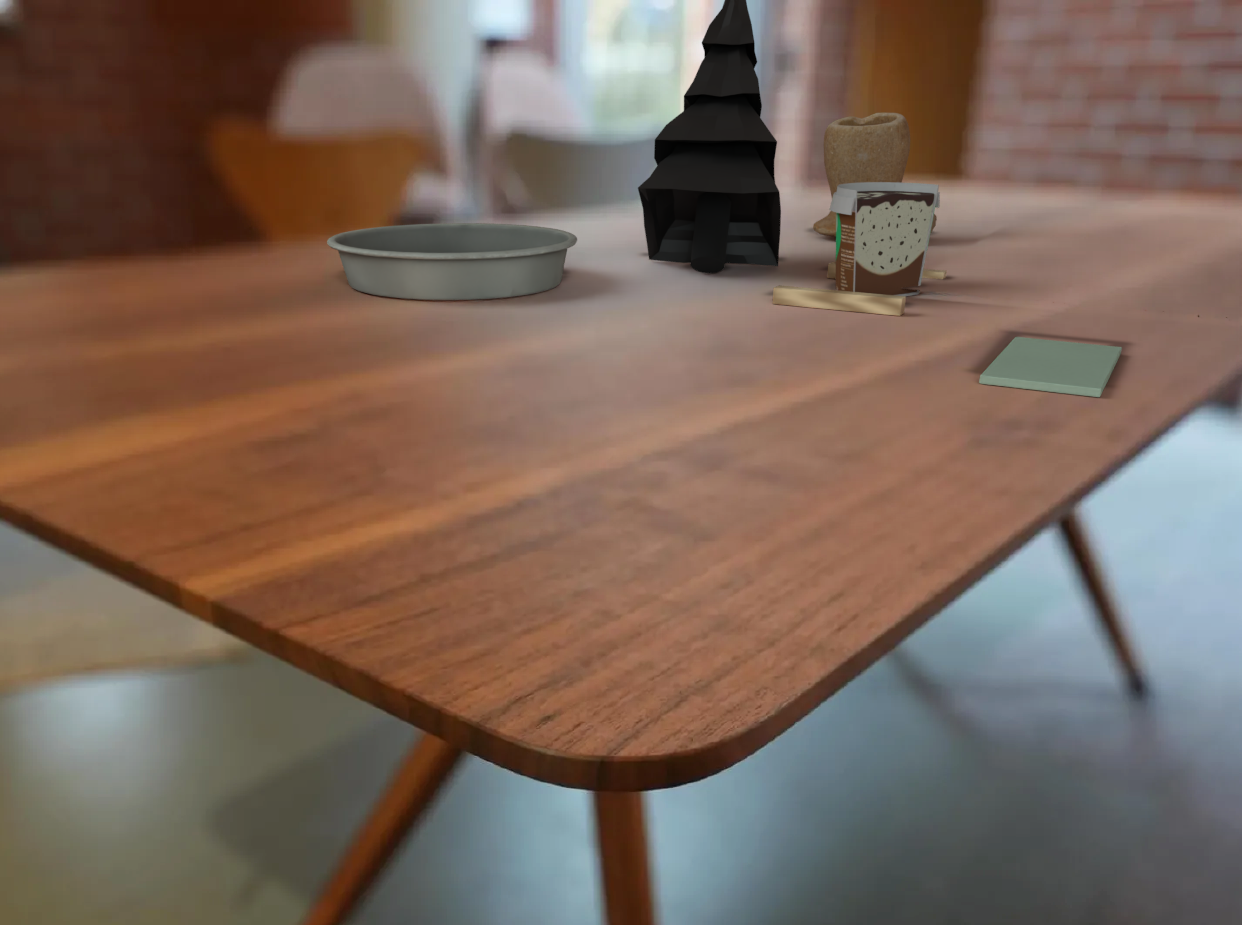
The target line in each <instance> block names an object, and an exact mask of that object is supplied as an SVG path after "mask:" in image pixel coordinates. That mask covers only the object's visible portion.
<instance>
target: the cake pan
mask: <svg viewBox="0 0 1242 925" xmlns="http://www.w3.org/2000/svg"><path fill="white" fill-rule="evenodd" d="M577 242H578V237H577V236H576V235H575V234H573V233H571V232H570V231H566V230H564V229H563V230H562V229H558V228H552V227H545V226H537V225H525V224H511V223H488V222H487V223H485V222H483V223H482V222H476V223H475V222H471V223H469V222H452V223H451V222H450V223H445V222H444V223H421V224H420V223H419V224H418V223H417V224H403V225H402V224H401V225H400V224H399V225H388V226H379V227H378V226H377V227H369V228H361V229H355V230H349V231H345V232H340V233H336V234H334V235H333V236H330V237H329V238H328V239H327V241H326V243H327V245H328V247H330V248H331V249H333V250H336V251H338V256H339V258H340V261H341V264H342V267H343V272H344V273H345V276H346V280H347V283H348V285H349V287H350V288H352V289H353V290H356V291H358V292H361V293H365V294H368V295H373V296H378V297H386V298H393V299H403V300H420V301H421V300H424V301H472V300H473V301H475V300H477V301H478V300H493V299H506V298H514V297H522V296H528V295H534V294H538V293H542V292H546V291H550V290H552V289H554V288H556V287H558V286H559V285H560V284H561V283H562V279H563V274H564V268H565V262H566V259H567V258H566V257H567V252H568V249H570V248H572V247H574V246H575V245H576V244H577Z"/></svg>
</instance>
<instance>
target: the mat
mask: <svg viewBox="0 0 1242 925" xmlns="http://www.w3.org/2000/svg"><path fill="white" fill-rule="evenodd" d="M1122 349H1123V347H1122V346H1116V345H1115V346H1114V345H1104V344H1094V343H1085V342H1074V341H1064V340H1055V339H1043V338H1033V337H1025V336H1015V337H1014V338H1013V339H1012V340H1011V341H1010V343H1008V345H1007V346H1006V347H1005V348H1004V349H1003V350H1002V351H1001V352H1000V353H999V354H998V355H997V357H996V358H995V359H994V360H993V361H992V362H991V363H990V364H989V365H988V366H987V367H986V369H985V370H984V371H983V372H982V373H981V374H979V380H978V384H980V385H989V386H998V387H1006V388H1012V389H1022V390H1031V391H1039V392H1049V393H1057V394H1064V395H1065V394H1067V395H1075V396H1081V397H1082V396H1084V397H1093V398H1101V396H1102V394H1103V392H1104V390H1105V388H1106V385H1107V383H1108V382H1109V379H1110V377H1111V375H1112V374H1113V371H1114V369H1115V367H1116V365H1117V363H1118V361H1119V359H1120V356H1121V354H1122Z"/></svg>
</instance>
